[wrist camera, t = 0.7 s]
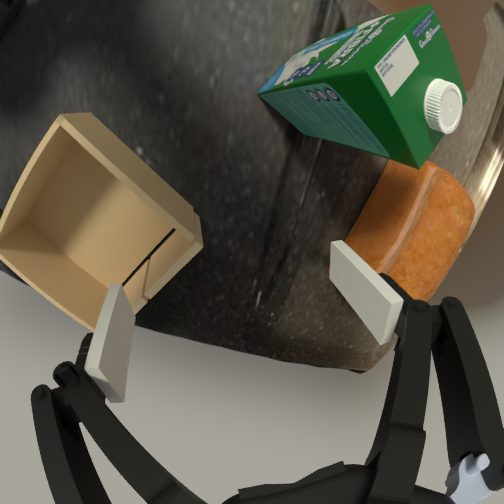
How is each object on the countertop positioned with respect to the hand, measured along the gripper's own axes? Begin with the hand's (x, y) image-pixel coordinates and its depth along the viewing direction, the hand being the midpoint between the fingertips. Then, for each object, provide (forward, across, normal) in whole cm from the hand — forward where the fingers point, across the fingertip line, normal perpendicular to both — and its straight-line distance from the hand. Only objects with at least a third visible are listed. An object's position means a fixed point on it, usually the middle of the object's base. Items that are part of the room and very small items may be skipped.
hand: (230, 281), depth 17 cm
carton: (+24, -16, 0) cm, 29 cm away
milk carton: (+24, +14, +12) cm, 30 cm away
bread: (+24, +29, -11) cm, 40 cm away
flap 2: (+23, -6, -6) cm, 25 cm away
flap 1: (+23, -14, -12) cm, 30 cm away
